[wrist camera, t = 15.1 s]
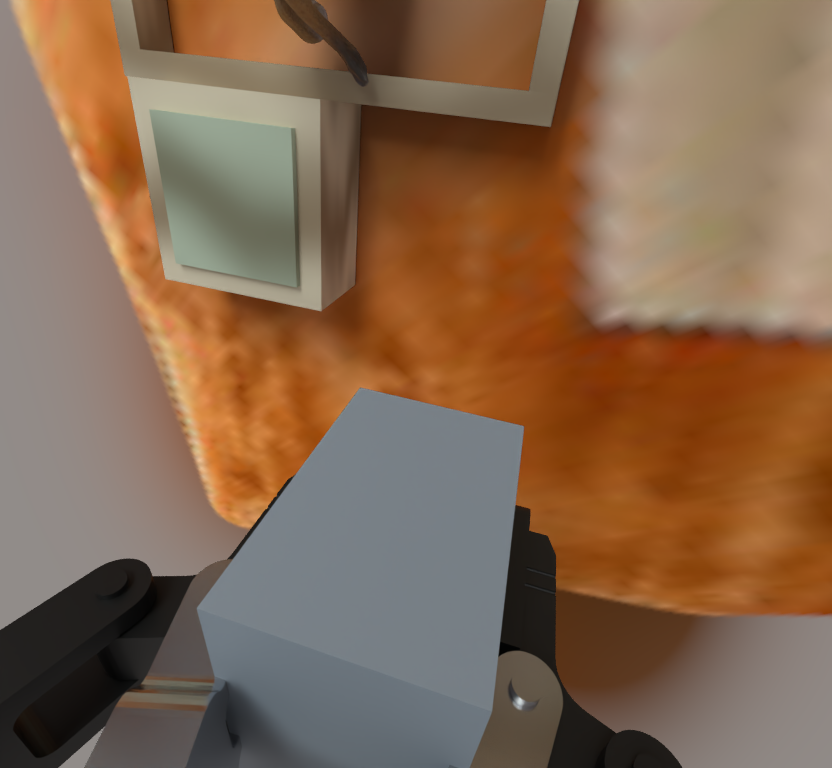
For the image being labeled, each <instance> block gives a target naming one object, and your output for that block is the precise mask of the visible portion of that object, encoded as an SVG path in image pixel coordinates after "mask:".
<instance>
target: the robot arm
mask: <svg viewBox="0 0 832 768" xmlns="http://www.w3.org/2000/svg"><path fill="white" fill-rule="evenodd" d="M294 476H295V475H294ZM294 476H293V477H291V478H289V479H288V480H287V482H286V483H285V484H284V485H283V487H282V488H281V489H280V491H279V492H278V493H277V496H276V497H274V499H273V500H272V501H271V503H270V504H269V505H268V508H267V509H265V511H264V512H263V513H262V515H261V516H260V517H259V519H258V520H257V521H256V523H255V524H254V525H253V527H252V528H251V529H250V531H249V532H248V533H247V535H246V536H245V537H244V539H243V540H242V541H241V543H240V544H239V545H238V547H237V548H236V549H235V551H234V552H233V553H232V555H231V556H230V557H229V558H228V559H227V560H222V561H218V562H215V563H213V564H211V565H209V566H207V567H206V568H205V569H203V570H202V571H200V572H199V573H198V574H197V575H193V576H152V573H151V571H150V569H149V567H148V566H147V564H145V563H144V562H142V561H140V560H136V559H120V560H115V561H112V562H109V563H107V564H104V565H102V566H100V567H99V568H97V569H95V570H94V571H92V572H90V573H89V574H87V575H86V576H84V577H83V578H81V579H79V580H78V581H76V582H75V583H73V584H72V585H70V586H69V587H67V588H65V589H64V590H62V591H61V592H59V593H58V594H56V595H54V596H53V597H51V598H50V599H48V600H47V601H45V602H44V603H42V604H41V605H39V606H37V607H36V608H34V609H33V610H31V611H30V612H28V613H26V614H25V615H23V616H22V617H20V618H18V619H17V620H16V621H14V622H12V623H11V624H9V625H8V626H6V627H5V628H3V629H1V630H0V768H58V767H59V766H61V765H62V764H63V763H64V762H65V761H66V760H67V759H68V758H70V757H71V756H72V755H73V754H74V753H75V752H76V751H78V750H79V749H80V748H81V747H82V746H83V745H84V744H85V743H86V742H88V741H89V740H90V739H91V738H92V737H93V736H94V735H95V734H97V733H98V732H99V731H100V730H101V729H102V728H103V727H105V728H104V730H103V731H102V733H101V736H100V737H99V739H98V741H97V743H96V745H95V747H94V749H93V751H92V753H91V755H90V757H89V759H88V761H87V763H86V765H85V767H84V768H239V761H240V755H241V750H242V744H241V740H240V736H239V735H236V734H233V733H231V732H229V729H228V725H227V721H226V709H227V704H228V699H229V695H230V694H229V690H228V686H227V682H226V680H224V679H221V678H218V677H216V676H214V672H213V668H212V665H211V661H210V657H209V653H208V650H207V646H206V642H205V638H204V634H203V631H202V627H201V623H200V619H199V616H198V612H197V607H198V606H199V604H200V603H201V602H202V600H203V599H204V598H205V596H206V595H207V594H208V592H209V591H210V590H211V588H212V587H213V586H214V584H215V583H216V582H217V580H218V579H219V577H220V576H221V575H222V573H223V572H224V571H225V569H226V568H227V567H228V565H229V564H230V563H231V561H232V560H233V559H234V557H235V556H236V555H237V553H238V552H239V551H240V549H241V548H242V546H243V545H244V544H245V542H246V541H247V540H248V538H249V537H250V536H251V534H252V533H253V532H254V530H255V529H256V528H257V526H258V525H259V524H260V522H261V521H262V519H263V518H264V517H265V515H266V514H267V513H268V511H269V510H270V509H271V507H272V506H273V505H274V503H275V502H276V501H277V499H278V498H279V497H280V495H281V494H282V492H283V491H284V490H285V488H286V487H287V486H288V484H289V483H290V482H291V480H292V479H293V478H294ZM529 526H530V509H528V508H524V507H521V506H517V505H515V512H514V521H513V530H512V539H511V548H510V557H509V566H508V574H507V583H506V592H505V601H504V610H503V619H502V628H501V637H500V646H499V654H498V663H497V672H496V681H495V690H494V699H493V708H492V713H491V716H490V718H489V721H488V723H487V726H486V728H485V731H484V733H483V736H482V738H481V741H480V743H479V746H478V748H477V751H476V753H475V755H474V758H473V760H472V763H471V765H470V768H682V766H681V765H680V763H679V762H678V760H677V759H676V758H675V757H674V756H673V754H672V753H671V752H670V751H669V750H668V749H667V748H666V747H665V746H664V745H663V744H662V743H660V742H659V741H658V740H656V739H655V738H653V737H651V736H650V735H648V734H646V733H643V732H640V731H635V730H625V731H621V732H619V733H615V732H614V731H612V730H611V729H610V728H608V727H607V726H605V725H604V724H603V723H601V722H600V721H598V720H597V719H596V718H594V717H593V716H591V715H590V714H589V713H587V712H586V711H585V710H583V709H582V708H581V707H580V706H579V705H578V704H577V703H576V702H575V701H574V700H573V699H572V698H571V696H570V695H569V694H568V693H567V691H566V689H565V688H564V686H563V684H562V682H561V680H560V678H559V675H558V672H557V668H556V660H555V625H556V623H555V622H556V621H555V620H556V610H555V609H556V596H555V592H556V579H555V576H556V554H555V552H554V550H553V547H552V545H551V543H550V541H549V538H548V536H546V535H542V534H539V533H535V532H531V531H529ZM449 768H457V767H455V766H452V765H449Z"/></svg>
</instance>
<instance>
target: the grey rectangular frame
mask: <svg viewBox="0 0 832 768" xmlns="http://www.w3.org/2000/svg"><path fill="white" fill-rule="evenodd" d="M578 4H579V0H546V5H545V10H544V15H543V20H542V26H541V31H540V36H539V41H538V46H537V51H536V56H535V62H534V67H533V72H532V77H531V82H530V87H529V91H524V90H515V89H506V88H496V87H487V86H478V85H468V84H459V83H450V82H440V81H431V80H422V79H413V78H403V77H394V76H385V75H375V74H367V77H368V80H369V83H368V85H367V86H365V87H362V86H360V85H359V84H358V83H357V82H356V81H355V79H354V77H353V76H352V74H351V73H350V72H347V71H338V70H329V69H319V68H310V67H301V66H291V65H282V64H273V63H264V62H254V61H245V60H236V59H226V58H217V57H208V56H198V55H189V54H180V53H174V49H173V42H172V35H171V28H170V21H169V14H168V7H167V0H111V5H112V10H113V15H114V21H115V26H116V31H117V36H118V42H119V47H120V52H121V57H122V63H123V68H124V73H125V76H127V77H128V82H129V87H130V92H131V98H132V103H133V108H134V114H135V119H136V124H137V130H138V135H139V140H140V145H141V151H142V156H143V161H144V167H145V172H146V177H147V183H148V188H149V193H150V199H151V204H152V209H153V214H154V220H155V225H156V230H157V236H158V241H159V246H160V252H161V257H162V262H163V268H164V273H165V278H166V279H169V280H174V281H178V282H183V283H188V284H193V285H198V286H202V287H207V288H212V289H217V290H222V291H226V292H231V293H236V294H241V295H246V296H250V297H255V298H260V299H265V300H270V301H274V302H279V303H284V304H289V305H293V306H298V307H303V308H308V309H313V310H317V311H322V310H324V309H325V308H326V307H328V306H329V305H330V304H331V303H333V302H334V301H335V300H336V299H338V298H339V297H340V296H342V295H343V294H344V293H345V292H347V291H348V290H349V289H351V288H352V287H353V286H354V285H355V274H356V245H357V215H358V186H359V156H360V127H361V104H363V105H371V106H380V107H388V108H396V109H405V110H413V111H421V112H430V113H438V114H446V115H455V116H463V117H471V118H480V119H488V120H496V121H505V122H513V123H521V124H530V125H538V126H546V127H551V125H552V120H553V116H554V111H555V107H556V102H557V98H558V93H559V89H560V84H561V80H562V75H563V71H564V66H565V62H566V57H567V53H568V48H569V44H570V40H571V35H572V31H573V26H574V22H575V17H576V13H577V8H578ZM138 77H139V78H138Z"/></svg>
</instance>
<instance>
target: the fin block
mask: <svg viewBox="0 0 832 768" xmlns="http://www.w3.org/2000/svg"><path fill="white" fill-rule="evenodd" d="M523 432H524V426H521V425H517V424H512V423H508V422H504V421H500V420H495V419H491V418H487V417H483V416H478V415H474V414H470V413H466V412H462V411H457V410H453V409H449V408H445V407H440V406H436V405H432V404H428V403H423V402H419V401H415V400H411V399H406V398H402V397H398V396H394V395H390V394H385V393H381V392H377V391H373V390H368V389H364V388H360V389H359V390H358V391H357V393H356V394H355V395H354V397H353V398H352V399H351V401H350V402H349V403H348V405H347V406H346V407H345V409H344V410H343V412H342V413H341V414H340V416H339V417H338V418H337V420H336V421H335V422H334V424H333V425H332V426H331V428H330V429H329V430H328V432H327V433H326V434H325V436H324V437H323V439H322V440H321V441H320V443H319V444H318V445H317V447H316V448H315V449H314V451H313V452H312V453H311V455H310V456H309V457H308V459H307V460H306V461H305V463H304V464H303V466H302V467H301V468H300V470H299V471H298V472H297V474H296V475H295V476H294V478H293V479H292V480H291V482H290V483H289V484H288V486H287V487H286V488H285V490H284V491H283V492H282V494H281V495H280V497H279V498H278V499H277V501H276V502H275V503H274V505H273V506H272V507H271V509H270V510H269V511H268V513H267V514H266V515H265V517H264V518H263V519H262V521H261V522H260V524H259V525H258V526H257V528H256V529H255V530H254V532H253V533H252V534H251V536H250V537H249V538H248V540H247V541H246V542H245V544H244V545H243V546H242V548H241V549H240V551H239V552H238V553H237V555H236V556H235V557H234V559H233V560H232V561H231V563H230V564H229V565H228V567H227V568H226V569H225V571H224V572H223V573H222V575H221V576H220V577H219V579H218V580H217V582H216V583H215V584H214V586H213V587H212V588H211V590H210V591H209V592H208V594H207V595H206V596H205V598H204V599H203V600H202V602H201V603H200V604H199V606H198V607H197V612H198V616H199V619H200V623H201V627H202V631H203V634H204V638H205V642H206V646H207V650H208V653H209V657H210V661H211V665H212V668H213V672H214V676H216V677H218V678H221V679H224V680H226V682H227V686H228V690H229V694H230V695H229V699H228V704H227V709H226V721H227V725H228V729H229V732H231V733H233V734H236V735H239V736H240V740H241V744H242V750H241V755H240V761H239V768H449V765H452V766H455V767H457V768H470V765H471V763H472V760H473V758H474V755H475V753H476V751H477V748H478V746H479V743H480V741H481V738H482V736H483V733H484V731H485V728H486V726H487V723H488V721H489V718H490V716H491V713H492V708H493V699H494V690H495V681H496V672H497V663H498V654H499V646H500V637H501V628H502V619H503V610H504V601H505V592H506V583H507V574H508V566H509V557H510V548H511V539H512V530H513V521H514V512H515V503H516V494H517V486H518V477H519V468H520V459H521V450H522V441H523Z"/></svg>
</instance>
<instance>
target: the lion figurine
mask: <svg viewBox="0 0 832 768" xmlns="http://www.w3.org/2000/svg"><path fill="white" fill-rule="evenodd" d="M274 1H275V5H276V8H277V11H278V13H279V15H280V17H281V18H282V19H283V21H284V22H285V23H286V24H287V25H288V26H289V27H290V28H292V29H293V30H294V31H295V33H296V34H297V35H298V36H299V37H300V38H301V39H303V40H304V41H305V42H307V43H311V44H315V43H318V42H320V41H322V40H323V39H324V40H325V41H326V42H327V43H328V44H329V45H330V46H331V47H332V48H334V49H335V50H336V51H337V52H338V53H339V55H340V56H341V57H342V59H343V60H344V61H345V63H346V65H347V67H348V70H349V72H350V73H351V74H352V76H353V77H354V79H355V81H356V82H357V83H358V84H359V85H360V86H362V87H365V86H367V85H368V83H369V80H368V77H367V68H366V65H365V63H364V61H363V59H362V58H361V56H360V54H359V52H358V51H357V49H356V48H355V47H354V46H353V45H352V44H351V43H350V42H349V41H348V40H347V39H346V38H345V37H344V36H343V35H342V34H341V33H340V32H339V31H338V30H337V29H336V28H335V27H334V26H333V25H332V24H331V23H330V22H329V21H328V18H327V13H326V10H325V9H324V7H323V6H322V5H321V4H319V3H318V2H316V1H315V0H274Z"/></svg>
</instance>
